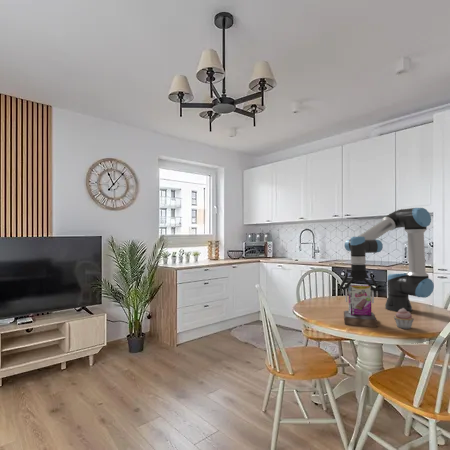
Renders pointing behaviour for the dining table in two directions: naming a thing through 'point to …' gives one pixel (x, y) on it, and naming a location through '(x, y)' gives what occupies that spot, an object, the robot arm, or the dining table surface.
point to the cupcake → (403, 319)
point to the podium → (360, 320)
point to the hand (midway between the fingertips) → (359, 302)
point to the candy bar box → (359, 300)
